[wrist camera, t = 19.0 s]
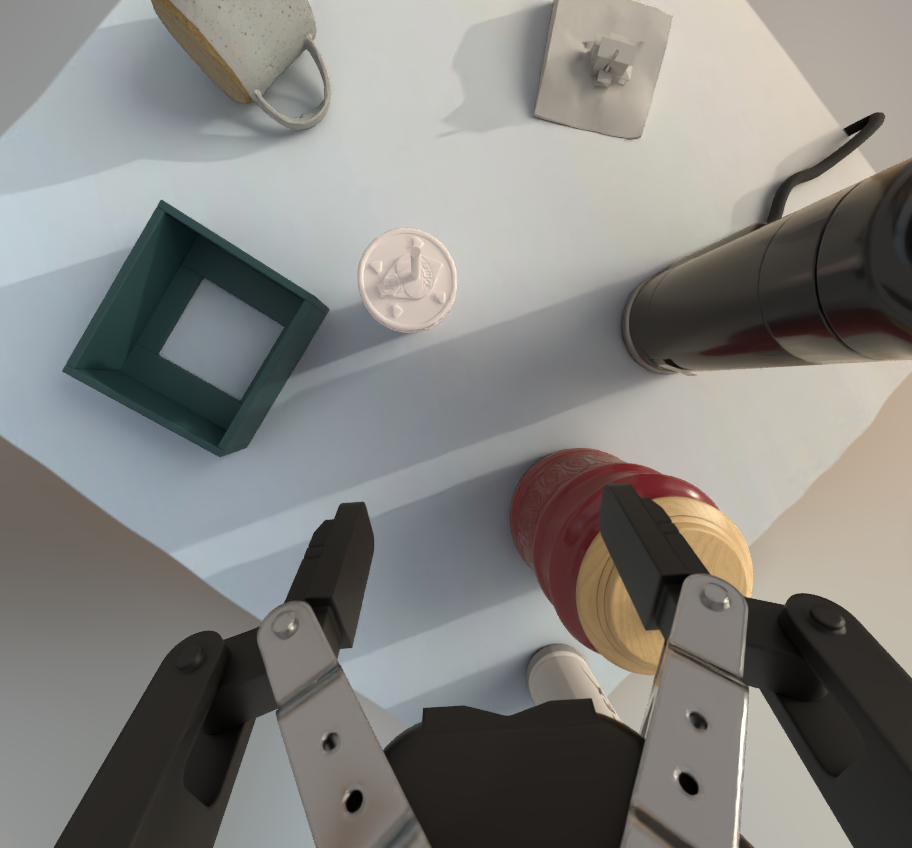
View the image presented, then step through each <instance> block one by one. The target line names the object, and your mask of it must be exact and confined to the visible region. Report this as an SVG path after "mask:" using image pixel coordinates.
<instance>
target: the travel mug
mask: <svg viewBox="0 0 912 848" xmlns="http://www.w3.org/2000/svg"><path fill="white" fill-rule="evenodd" d="M526 682H527V685H528V688H529V691H530V693H531V696H532V699H533V701H534V704H535V706H537V705H540V704H542V703H545V702H547V701H551V700H568V699H585V698H592V701H593V704H594V708H595V711H596V712H597V713H601V714H604V715H606V716H609V717H612V718H614V719H616V720H618V721H620V722H621V720H620V719H619V717H618V715H617V714H616V712H615V711H614V709H613V707H612V706H611V704H610V702H609V701H608V699H607V697H606V696H605V694H604V692H603V691H602V689H601V687H600V686H599V684H598V682H597V681H596V679H595V678H594V676H593V674H592V673H591V671H590V669H589V668H588V666H587V664H586V663H585V661H584V659H583V658H582V656H581V654H580V653H579V652H578V651H577V650H575V649H574V648H572V647H570V646H567V645H562V644H554V645H550V646H547V647H545V648H543V649H541V650H540V651H538V652H537V653H536V654H535V655H534V656H533V658H532V659H531V660H530V662H529V664H528V667H527V671H526Z"/></svg>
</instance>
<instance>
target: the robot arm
mask: <svg viewBox="0 0 912 848" xmlns="http://www.w3.org/2000/svg"><path fill="white" fill-rule="evenodd" d="M884 119H885V115H884V114H883V113H878V112H877V113H874V114H871V115H869V116H867V117H865V118H863V119H861V120H859V121H857V122H855V123H853V124H851V125H849V126H847V127H846V128H844V129H843V131H844V132H845V133H846V135H847V136H848V137H849V136H851V135H853V134H855V133H857V132H858V131H860V132H859V133H858V134H856V135H855V136H854V137H853V138H852V139H850V140H849V141H848V142H847V143H846V144H844V145H843V146H842V147H840V148H839V149H838V150H837V151H835V152H834V153H833V154H831V155H830V156H829V157H827V158H826V159H824V160H823V161H822V162H820V163H819V164H817V165H816V166H814V167H812V168H810V169H807V170H804V171H801V172H798V173H796V174H794V175H792V176H790V177H789V178H788V179H787V180H786V181H785V182H784V183H783V184H782V185H781V186H780V187H779V189H778V190H777V192H776V194H775V197H774V199H773V202H772V206H771V210H770V213H769V217H768V220H767V222H766V223H763V222H759V223H755V224H753V225H751V226H749V227H747V228H745V229H743V230H741V231H739V232H737V233H734V234H732V235H730V236H728V237H726V238H724V239H722V240H720V241H718V242H716V243H714V244H712V245H710V246H707V247H705V248H703V249H701V250H699V251H697V252H695V253H693V254H691V255H689V256H687V257H685V258H683V259H681V260H678V261H676V262H674V263H672V264H670V265H669V266H668V267H667V269H666V270H665V271H663V272H661V273H658V274H656V275H654V276H652V277H650V278H648V279H647V280H645V281H644V282H642V283H641V284H640V285H639V286H638V287H637V288H636V289H635V290H634V291H633V293H632V294H631V296H630V297H629V299H628V301H627V303H626V306H625V309H624V312H623V317H622V333H623V338H624V342H625V345H626V347H627V349H628V351H629V353H630V354H631V356H632V357H633V358H634V359H635V360H636V361H637V362H638V363H639V364H640V365H641V366H643V367H644V368H646V369H648V370H650V371H653V372H656V373H662V374H674V373H681V374H684V375H687V376H693V375H695V374H692V373H689V372H692V371H713V370H731V369H750V368H768V367H786V366H804V365H822V364H838V363H857V362H876V361H899V360H912V158H909V159H907V160H905V161H903V162H901V163H899V164H896V165H894V166H892V167H890V168H888V169H886V170H883V171H881V172H879V173H877V174H875V175H873V176H871V177H869V178H867V179H864V180H862V181H860V182H858V183H856V184H854V185H851V186H849V187H847V188H845V189H843V190H841V191H839V192H836V193H834V194H832V195H830V196H828V197H826V198H823V199H821V200H819V201H817V202H815V203H813V204H811V205H809V206H807V207H804V208H802V209H800V210H798V211H796V212H794V213H791V214H789V215H787V216H785V217H783V218H782V214H783V211H784V207H785V203H786V200H787V198H788V195H789V193H790V191H791V190H792V189H793V187H795V186H796V185H798V184H800V183H803V182H806V181H809V180H812V179H814V178H816V177H818V176H820V175H821V174H823V173H824V172H826V171H827V170H829V169H830V168H831V167H833V166H834V165H835V164H837V163H838V162H840V161H841V160H842V159H843V158H845V157H846V156H847V155H849V154H850V153H851V152H852V151H854V150H855V149H856V148H857V147H859V146H860V145H861V144H862V143H863V142H865V140H867V139H868V138H869V137H870V136H871V135H872V134H873V133H874V132H875V131H876V130H877V129H878V128H879V127H880V126H881V125H882V124H883V122H884ZM599 529H600V533H601V536H602V539H603V541H604V543H605V545H606V547H607V549H608V551H609V554H610V556H611V558H612V560H613V562H614V564H615V566H616V569H617V571H618V573H619V575H620V577H621V579H622V581H623V584H624V586H625V588H626V590H627V592H628V594H629V596H630V598H631V601H632V603H633V605H634V607H635V609H636V611H637V613H638V616H639V618H640V620H641V622H642V624H643V626H644V628H645V631H650V630H660V632H661V634H662V636H663V638H664V643H663V646H662V650H661V654H660V658H659V662H658V666H657V669H656V673H655V677H654V681H653V685H652V689H651V693H650V697H649V700H648V704H647V708H646V711H645V715H644V718H643V722H642V725H641V728H640V732H639V734H638V733H637V732H636V731H634V730H633V729H631V728H630V727H628V726H627V725H625V724H624V723H622V722H620V721H618V720H616V719H614V718H612V717H609V716H606V715H604V714H601V713H597V712H596V711H595V708H594V704H593V701H592V698H585V699H568V700H551V701H547V702H545V703H542V704H540V705H537V706H535V707H532V708H529V709H527V710H524V711H522V712H519V713H516V714H514V715H510V716H504V715H500V714H496V713H492V712H488V711H484V710H480V709H476V708H472V707H468V706H449V707H432V708H423V718H422V722H421V723H418V724H415V725H414V726H412V727H410V728H408V729H406V730H405V731H404V732H402V733H401V734H399V735H398V736H397V737H396V738H395V739H394V740H393V741H391V742H390V743H389V744H388V745H387V746H386V747H385V749H384V750H382V748H381V746H380V744H379V742H378V740H377V738H376V736H375V734H374V732H373V730H372V728H371V726H370V724H369V722H368V720H367V718H366V716H365V713H364V712H363V710H362V707H361V705H360V703H359V702H358V699H357V697H356V695H355V693H354V691H353V689H352V687H351V685H350V683H349V681H348V679H347V677H346V675H345V673H344V671H343V669H342V667H341V665H340V664H339V663H338V661H337V658H338V654H339V650H340V649H344V648H352V646H353V642H354V637H355V633H356V629H357V624H358V620H359V615H360V611H361V606H362V602H363V597H364V593H365V588H366V584H367V579H368V575H369V570H370V566H371V562H372V557H373V552H374V535H373V531H372V527H371V523H370V520H369V516H368V512H367V508H366V505H365V503H364V502H352V503H341V504H340V505H339V508H338V510H337V513H336V516H335V518H334V519H332V520H325V521H324V522H323V523H322V524H321V525H320V526H319V527H318V529H317V530H316V531H315V532H314V534H313V536H312V539H311V541H310V543H309V548H307V550H306V553H305V555H304V559H303V560H302V562H301V565H300V567H299V569H298V572H297V574H296V576H295V579H294V581H293V583H292V586H291V588H290V591H289V593H288V595H287V598H286V600H285V602H284V604H282V605H280V606H278V607H277V608H275V609H274V610H272V611H271V612H270V613H269V614H268V615H267V616H266V617H265V618H264V620H263V621H262V623H261V625H260V626H259V627H257V628H255V629H252V630H250V631H247V632H244V633H242V634H239V635H236V636H233V637H230V638H228V639H225V640H223V639H222V637H221V636H220V635H219V634H218V633H217V632H214V631H202V632H199V633H196V634H193V635H191V636H189V637H187V638H186V639H184V640H183V641H181V642H180V643H179V644H177V645H176V646H175V647H174V648H173V649H172V650H171V651H170V652H169V653H168V655H167V656H166V657H165V659H164V660H163V662H162V663H161V665H160V667H159V668H158V670H157V672H156V673H155V675H154V677H153V679H152V680H151V682H150V684H149V685H148V687H147V689H146V691H145V692H144V694H143V696H142V697H141V699H140V701H139V703H138V704H137V706H136V708H135V710H134V711H133V713H132V714H131V716H130V718H129V720H128V721H127V723H126V725H125V726H124V728H123V730H122V732H121V733H120V735H119V737H118V738H117V740H116V742H115V744H114V745H113V747H112V749H111V750H110V752H109V754H108V756H107V757H106V759H105V761H104V763H103V764H102V766H101V767H100V769H99V771H98V773H97V774H96V776H95V778H94V780H93V781H92V783H91V785H90V786H89V788H88V790H87V792H86V793H85V795H84V797H83V799H82V800H81V802H80V804H79V805H78V807H77V809H76V810H75V812H74V814H73V815H72V817H71V819H70V821H69V822H68V824H67V826H66V827H65V829H64V831H63V832H62V834H61V836H60V838H59V839H58V841H57V843H56V845H55V846H54V848H213V846H214V843H215V840H216V837H217V834H218V831H219V827H220V824H221V822H222V819H223V816H224V813H225V810H226V807H227V804H228V801H229V798H230V794H231V792H232V788H233V785H234V783H235V780H236V776H237V774H238V771H239V767H240V764H241V762H242V758H243V755H244V753H245V749H246V747H247V744H248V741H249V738H250V734H251V732H252V729H253V726H254V723H255V720H256V718H257V717H259V716H261V715H264V714H266V713H268V712H271V711H273V710H275V709H278V710H277V711H276V716H277V721H278V724H279V728H280V731H281V734H282V738H283V741H284V744H285V747H286V751H287V754H288V757H289V761H290V764H291V767H292V771H293V774H294V777H295V780H296V784H297V787H298V790H299V793H300V797H301V800H302V803H303V807H304V810H305V813H306V817H307V820H308V823H309V826H310V830H311V833H312V836H313V839H314V843H315V846H316V848H754V847H753V846H752V845H751V844H750V843H749V842H748V841H747V840H746V839H745V838H744V837H743V836H742V835H741V834H740V823H741V809H742V793H743V779H744V778H743V777H744V763H745V749H746V734H747V719H748V703H749V687H748V686H752V687H755V688H759V689H760V690H761V692H762V694H763V695H764V697H765V699H766V701H767V702H768V704H769V705H770V707H771V709H772V711H773V712H774V714H775V716H776V717H777V719H778V721H779V723H780V724H781V726H782V728H783V729H784V731H785V733H786V734H787V736H788V738H789V739H790V741H791V743H792V744H793V746H794V748H795V749H796V751H797V753H798V755H799V756H800V758H801V760H802V761H803V763H804V765H805V766H806V768H807V770H808V771H809V773H810V775H811V776H812V778H813V780H814V782H815V783H816V785H817V787H818V788H819V790H820V792H821V793H822V795H823V797H824V798H825V800H826V802H827V804H828V805H829V807H830V809H831V810H832V812H833V814H834V815H835V817H836V819H837V820H838V822H839V824H840V825H841V827H842V829H843V831H844V832H845V834H846V836H847V837H848V839H849V841H850V842H851V844H852V845H853V847H854V848H912V678H911V677H910V676H909V675H908V674H907V673H906V672H905V670H904V669H903V668H902V667H901V666H900V665H899V664H898V663H897V662H896V661H895V660H894V659H893V658H892V657H891V655H890V654H889V653H887V651H886V650H885V649H884V648H883V647H882V646H881V645H880V644H879V643H878V641H877V640H876V639H875V638H874V637H873V636H872V635H871V634H870V633H869V632H868V631H867V630H866V629H865V627H864V626H863V625H862V624H861V623H860V622H859V621H858V620H857V619H856V618H855V617H854V616H853V615H852V614H851V613H849V612H848V611H847V610H845V609H844V608H843V607H841V606H839V605H838V604H836V603H834V602H832V601H830V600H828V599H826V598H823V597H820V596H817V595H812V594H805V593H801V594H795V595H792V596H791V597H790V598H789V599H788V600H787V602H786V604H785V605H782V604H777V603H772V602H767V601H761V600H757V599H752V598H748V597H745V596H743V595H742V594H741V593H740V592H739V591H738V590H737V589H736V588H735V587H734V586H733V585H731V584H730V583H728V582H727V581H725V580H723V579H721V578H719V577H716V576H713V575H711V574H710V573H709V571H708V570H707V569H706V567H705V566H704V565H703V563H702V562H701V560H700V559H699V558H698V556H697V555H696V553H695V552H694V551H693V549H692V548H691V546H690V545H689V544H688V542H687V541H686V540H685V538H684V537H683V535H682V534H680V533H679V530H678V528H677V527H676V526H675V524H674V523H672V520H671V519H670V517H669V516H668V515H667V513H666V512H665V510H664V509H663V508H662V507H661V506H660V505H658V504H657V503H655V502H654V501H653V500H651V499H650V498H649V497H644V498H640V497H639V495H638V494H637V492H636V491H635V489H634V488H633V486H632V485H631V484H630V483H617V484H606V485H604V487H603V492H602V499H601V506H600V514H599Z"/></svg>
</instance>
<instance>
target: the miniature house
mask: <svg viewBox="0 0 912 848" xmlns="http://www.w3.org/2000/svg"><path fill="white" fill-rule="evenodd" d="M672 17H673V16H671V15H668V14H666V13H664V12H663V11H661V10H659V9H657V8H653V7H650V6H647V5H644V4H641V3H638V2H634V1H631V0H554V2H553V7H552V13H551V19H550V25H549V30H548V36H547V42H546V47H545V53H544V59H543V64H542V70H541V76H540V81H539V87H538V93H537V99H536V104H535V110H534V116H533V117H537V118H541V119H544V120H548V121H552V122H556V123H560V124H563V125H567V126H571V127H575V128H579V129H585V130H591V131H596V132H599V133H601V134H606V135H611V136H617V137H623V138H629V139H634V138H640V137H641V136H642V132H643V129H644V126H645V122H646V119H647V116H648V112H649V109H650V106H651V102H652V97H653V93H654V89H655V86H656V82H657V79H658V75H659V72H660V68H661V64H662V61H663V57H664V53H665V49H666V45H667V41H668V36H669V32H670V27H671V22H672ZM626 140H628V139H626Z"/></svg>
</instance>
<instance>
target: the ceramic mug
mask: <svg viewBox="0 0 912 848" xmlns="http://www.w3.org/2000/svg"><path fill="white" fill-rule="evenodd" d="M151 1H152V4H153V8H154V10H155V12H156V14H157V15H158V17H159V18H160V20H161V21H162V23H163V24H164V25H165V27H166V28H167V29H168V31H169V32H170V33H171V34H172V36H173V37H174V38H175V39H176V41H177V42H178V43H179V44H180V45H181V46H182V48H183V49H184V50H185V51H186V52H187V53H188V54H189V56H190V57H191V58H192V59H193V60H194V61H195V62H196V63H197V64H198V66H199V67H200V68H201V69H202V70H203V71H204V72H205V73H206V74H207V75H208V76H209V77H210V78H211V79H212V80H213V81H214V82H215V83H216V84H217V85H218V86H219V87H220V88H221V89H222V90H223V91H224V92H225V93H226V94H227V95H229V96H230V97H231V98H232V99H233V100H235V101H237V102H239V103H243V104H248V103H250V102H252V101H256V102H257V103H258V104H259V105H260V107H261V108H262V109H263V110H264V111H265V112H266V113H267V114H268V115H269V116H270V117H272V118H273V119H274V120H276V121H277V122H278V123H280V124H282V125H284V126H286V127H288V128H291V129H294V130H304V129H309V128H312V127H313V126H315V125H316V124H318V123H319V122H320V121H321V120H322V119H323V117H324V116H325V114H326V112H327V110H328V107H329V104H330V98H331V86H330V79H329V75H328V71H327V68H326V66H325V63H324V61H323V58H322V56H321V54H320V52H319V50H318V49H317V47H316V45H315V43H314V42H313V40H314V39H315V36H316V32H317V31H316V23H315V18H314V14H313V12H312V9H311V7H310V5H309V2H308V0H151ZM305 49H307V50H308V51H309V52H310V54H311V56H312V57H313V59H314V61H315V63H316V64H317V66H318V69H319V71H320V74H321V76H322V79H323V82H324V100H323V102H322V103H321V104H320V106H319V107H318V108H316V109H315V110H314V111H313V112H312V113H310V114H302V115H301V117H300V118H293V119H292V118H289V117H287V116H285V115H283V114H280V113H279V112H278V111H276V110H275V109H274V108H273V107H272V106H270V105H269V104H268V103H267V102H266V100H265V99H263V98H262V95H263V94H264V93H265V91H266V90H267V89H268V88H269V87H270V86H271V85H272V83H273V82H274V80H275V79H276V78H277V77H278V76H279V75H280V74H281V73H282V72H283V71H284V70H285V69H286V68H287V67H288V66H289V65H290V64H292V62H293V61H294V60H295V59H296V58H297V57H299V56H300V54H301V53H302V52H303V51H304V50H305Z"/></svg>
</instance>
